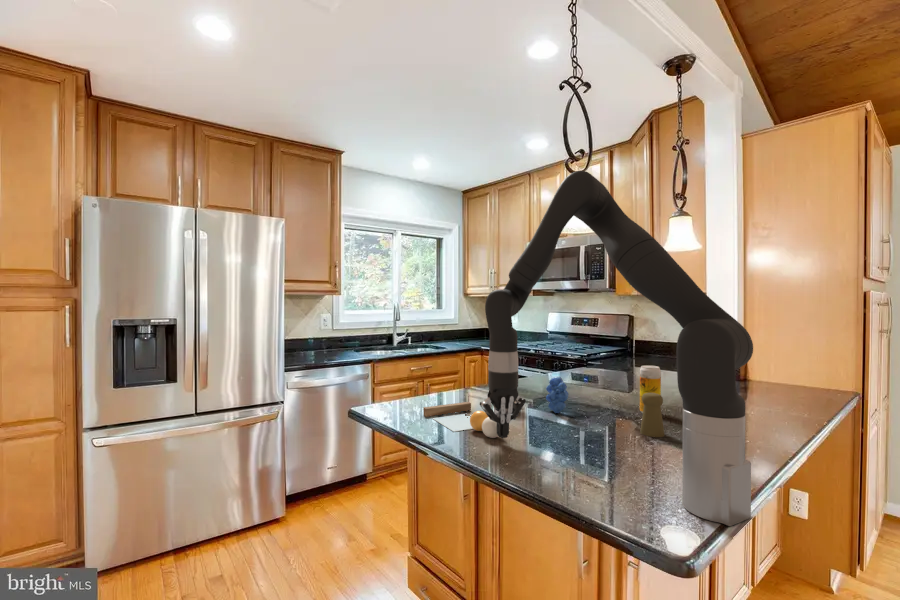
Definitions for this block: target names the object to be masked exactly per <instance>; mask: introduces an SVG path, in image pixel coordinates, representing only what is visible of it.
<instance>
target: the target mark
mask: <svg viewBox="0 0 900 600" xmlns="http://www.w3.org/2000/svg"><path fill="white" fill-rule="evenodd" d="M465 414H466V413H461V414H455V415H447V416H440V417H433V418H432V419H433V420H434V421H435V422H437V423H439V424H440V425H442V426H444V427H445V428H446V429H448V430H450V431H451V432H452V433H456V432H464V431H470V430H474V429H473V428H472V427H471V425H470V416H471V415H470V416H465ZM467 417H468V418H467ZM463 430H464V431H463Z"/></svg>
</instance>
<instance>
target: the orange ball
mask: <svg viewBox="0 0 900 600" xmlns="http://www.w3.org/2000/svg"><path fill="white" fill-rule="evenodd" d="M472 413H473V414H472V415H471V417H470V425H471V427H472V428H473V429H472V430H474V431H477V432H483V430H482V423H483V421H484V420H485V419H486V418H487V417H488V416H487V414H486V413H485V412H484V410H476V411H474V412H472Z"/></svg>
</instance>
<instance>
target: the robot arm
mask: <svg viewBox="0 0 900 600" xmlns="http://www.w3.org/2000/svg"><path fill="white" fill-rule="evenodd" d="M573 217H575V218H577V219H579V220H580V221H581V222H582V223H584V224H585V225H586V226H587V227H588V228H590V230H592V232H594V234H595V235H596V236H597V237H598V238H599V239H600V241H601V242H602V243H603V247H604V249H605V251H606V254H607V255H608V258H609V259H610V261H611V263H612V265H613V266H614V267H615V269H616V270H617V271H618V272H619V273H620V275H621V276H622V278H624V280H625V281H626V282H627V283H628V284H629V285H630V286H631V287H632V288H633V289H634V290H635V291H637V292H638V293H639V294H641V295H642V297H644V298H646V299H647V300H649V301H650V302H652V303H654V304H655V305H656V306H658V307H659V308H662V310H664V311H665V312H666V313H668V315H670V316H672V318H673V319H674V320H676V322H677V323H678V324H679V325H680V327H681V328H682V329H681V330H680V332H679V334H678V338H677V342H676V352H675V353H676V375H677V380H676V381H677V388H678V392H679V395H680V396H681V400H682V449H681V450H682V452H681V453H682V466H681V467H682V468H681V469H682V471H681V473H682V475H681V476H682V477H681V478H682V479H681V481H682V484H681V485H682V488H681V489H682V490H681V491H682V492H681V493H682V496H681V497H682V499H681V502H682V506H683V507H684V508H685V510H686V511H688V512H689V513H691V514H693V515H695V516H697V517H699V518H700V519H701V518H702V519H704V520H706V521H711V522H715V523H720V524H722V525H723V524H724V525H726V526H728V527H732V526H734V525H736V524H739V523H742V522H744V521H747V520H749V519H751V518H752V463H751V461H750V460H748V459H746V400H745V399H744V397H742V396H741V395H740V394H739V392H738V391H737V384H736V381H737V380H736V369H739V368H742V367H743V366H745V365H746V364H747V363H748V362H749V361H751V358H752V356H753V354H754V353H753V352H754V344H753V339H752V338H751V335H750V334H749V332H748V330H747V329H746V328H745V327H744V326H743V325H742V323H740V322H739V321H738V320H736V318H734V317H733V316H732V315H730V314H729V312H727V311H726V310H724V309H723V308H722V307H721V306H720V305H719V304H717V303H716V302H715V301H714V300H712V299H711V298H710V297H709V295H707V294H706V293H705V292H704V291H703V290H702V289H701V288H700V287H699V286H698V285H697V284H696V282H695V281H694V279H693V278H691V276H689V275H688V273H687V272H686V271H685V270H684V269H683V268H682V267H681V265H679V264H678V263H677V262H676V260H675V259H674V258H673V257H672V256H671V255H670V253H669V252H668V251H667V250H666V249H665V248H664V247H663V246H662V245H661V244H660V242H658V240H657V239H656V238H654V236H652V235H651V234H650V233H649V232H648V231H646V230H645V228H644V227H642V226H641V225H639V224H638V223H636V222H635V221H634V220H632V219H631V218H630V217H629V216H628V215H627V214H626V213H625V212H624V210H622V208H621V207H620V206H619V204H618V203H617V202H616V201H615V198H614V197H613V195H611V192H610V191H609V190H608V188H607V187H606V186H605V185H604V183H602V182H601V181H600V180H599V179H598V178H596V177H595V176H593V175H592V173H590V172H588V171H586V170H576V171H573V172H571V173H569V174H568V175H567V176H566V177H565V178H564V179H563V180H562V182H561V183H560V185H559V186H558V187H557V190H556V192H555V193H554V195H553V198H552V200H551V202H550V203H549V205H548V208H547V209H546V212H545V213H544V215H543V217H542V219H541V220H540V223H539V225H538V227H537V229H536V230H535V233H534V235H533V236H532V238H531V240H530V241H529V243H528V244H527V246H526V248H525V249H524V251H523V252H521V255H520V256H519V258H518V259H517V260H516V262H515V263H514V264H513V266H512V268H511V269H510V270H509V273H508V282H507V283H506V285H505V286H504V288H503V289H499V288H498V289H494V290H492V291H490V292H489V294H488V295H487V297H486V299H485V305H484V312H485V318H486V323H487V328H488V332H489V349H488V350H489V354H488V359H487V360H488V362H487V363H488V366H487V368H488V371H487V373H488V374H487V375H488V376H487V377H488V378H487V386H488V389H489V390H488V392H487V398H486V399H485V400H484V401H480V402H479V406H480V407H481V409H482V411H483V412H485V413H486V414H487V416H488V417H489V418H490V419H491V420H493V421H495V422H496V423H497V435H498V437H499V438H501V439H507V438H508V436H509V434H510V423H511V421H512V420H516V419H517V417H518V416H519V414H520V412H521V411H522V409H523V407H524V405H525V404H526V401H527V400H526V399H525V398H523V397H521V396H520V395H519V391H518V387H519V354H518V353H519V352H518V332H517V329H515V328H514V327H513V319H512V317H514V316H515V315H517V314H518V313H519V312H520V310H522V309H523V307H524V305H525V304H526V302H527V300H528V298H529V296H530V294H531V292H532V290H533V288H534V287H535V286H536V284H537V283H538V281H540V279H542V276H543V275H544V274H545V273H546V271H547V270H548V268H549V266H550V264H551V263H552V260H553V257H554V255H555V251H556V249H557V245H558V242H559V238H560V237H561V235H562V233H563V230H564V229H565V227H566V225H567V224H568V223H569V222H570V220H571V219H572V218H573ZM492 407H493V409H492Z"/></svg>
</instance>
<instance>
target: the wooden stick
mask: <svg viewBox="0 0 900 600" xmlns="http://www.w3.org/2000/svg"><path fill="white" fill-rule="evenodd" d="M422 410H423V416H424V417H426V418H427V417H436V416H443V415H442V414H444V415H448V413H451V414H456V413H455V412H458V413H462V412H461V411H466V412H468V411H467V410H471V411H472V403H471V402H469V401H465V402H457V403H449V404H448V403H447V404H440V405H439V404H438V405H432V406H424V407H423V409H422ZM435 415H436V416H435Z"/></svg>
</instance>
